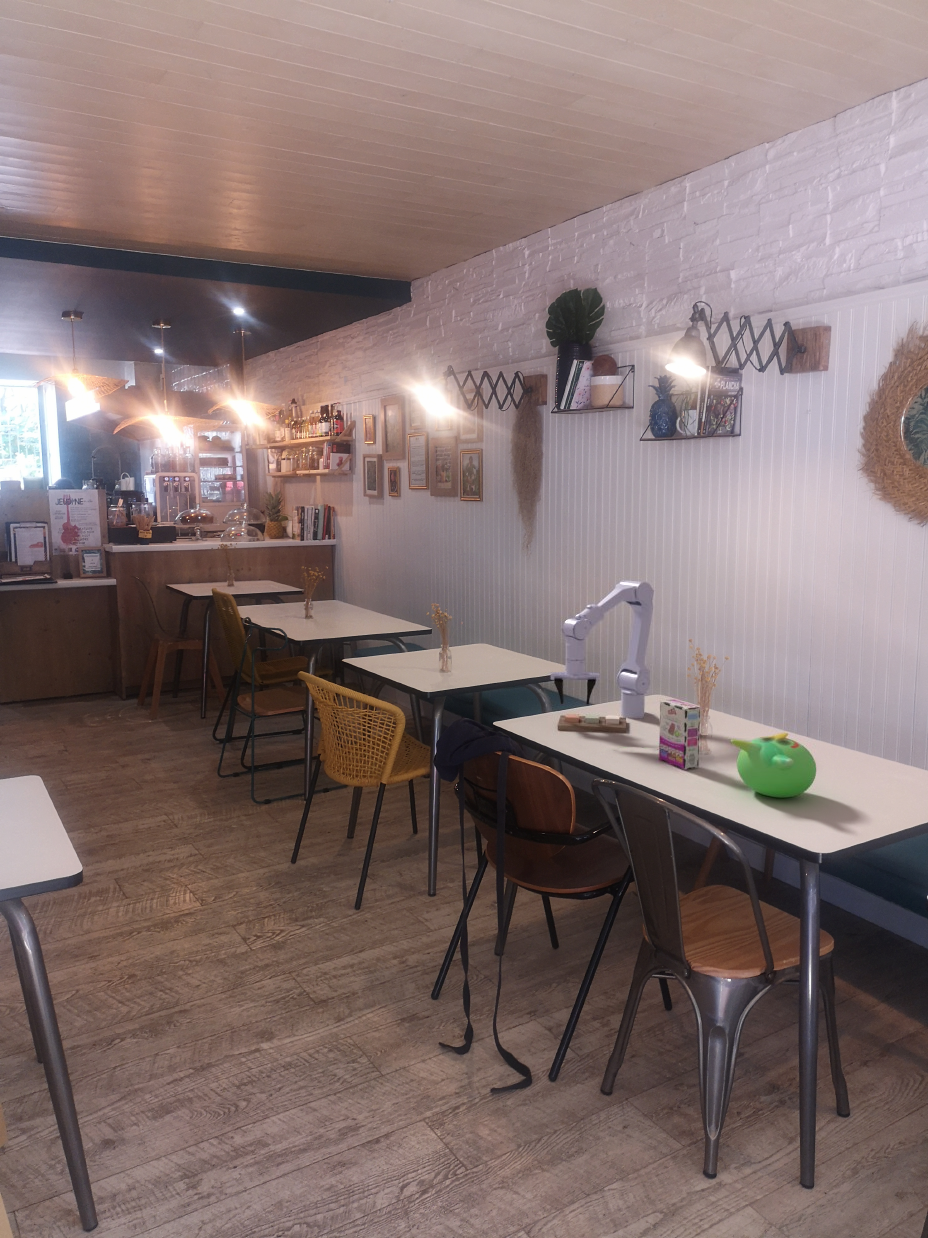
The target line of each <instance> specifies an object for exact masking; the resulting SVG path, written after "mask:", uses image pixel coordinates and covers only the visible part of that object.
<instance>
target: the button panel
mask: <svg viewBox="0 0 928 1238" xmlns="http://www.w3.org/2000/svg"><path fill="white" fill-rule="evenodd" d="M565 716H566V714H565V715H564V714H563V715H562V714H560V717H559V720H558V722H557V731H566V732H567V731H569V732H570V731H571V732H592V733H593V732H597V733H620V734H621V733H624V734H625V733H627V718H626V717H623V716H619V724H606V716H599V723H585V717H586V715H579V723H572V722H565Z"/></svg>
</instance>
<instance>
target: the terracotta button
mask: <svg viewBox="0 0 928 1238" xmlns="http://www.w3.org/2000/svg"><path fill="white" fill-rule="evenodd" d="M565 715H566V716H565V722H572V723H579V716H580V714H577V713H566V714H565Z"/></svg>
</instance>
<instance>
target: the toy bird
mask: <svg viewBox="0 0 928 1238" xmlns="http://www.w3.org/2000/svg"><path fill="white" fill-rule="evenodd" d="M788 735H789V733H788V732H782V733H777V734H774V735H770V736H768V735H767V736H762V737H758V738H757V737H756V738H754V739H752V740H750V741H746V740H741V739H731V740H730V743H731V744H733V746H735V747H737V748H739V749H740V751H739V753H738V756H737V759H736V768H737V773H738V774H739V777H740V778H741V780H742V781H743V782H744V784H745V785H746V786H747V787H749V788H750V789H752V791H755V792H757V793H759V794H761V795H764V796H768V797H772V798H791V797H796V796H798V795H801V794H803V793H804V792H806V791H807V790H809V788H810V787H811V786H812V785H813V784H814V782H815V779H816V775H817V765H816V761H815V758H814V756H813V754H812V753H811V752H810V750H808V748H807V747H805V746H804V745H803V744H801V743H799V742H797V741H796V740H793V739H790V738H787V737H788Z"/></svg>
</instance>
